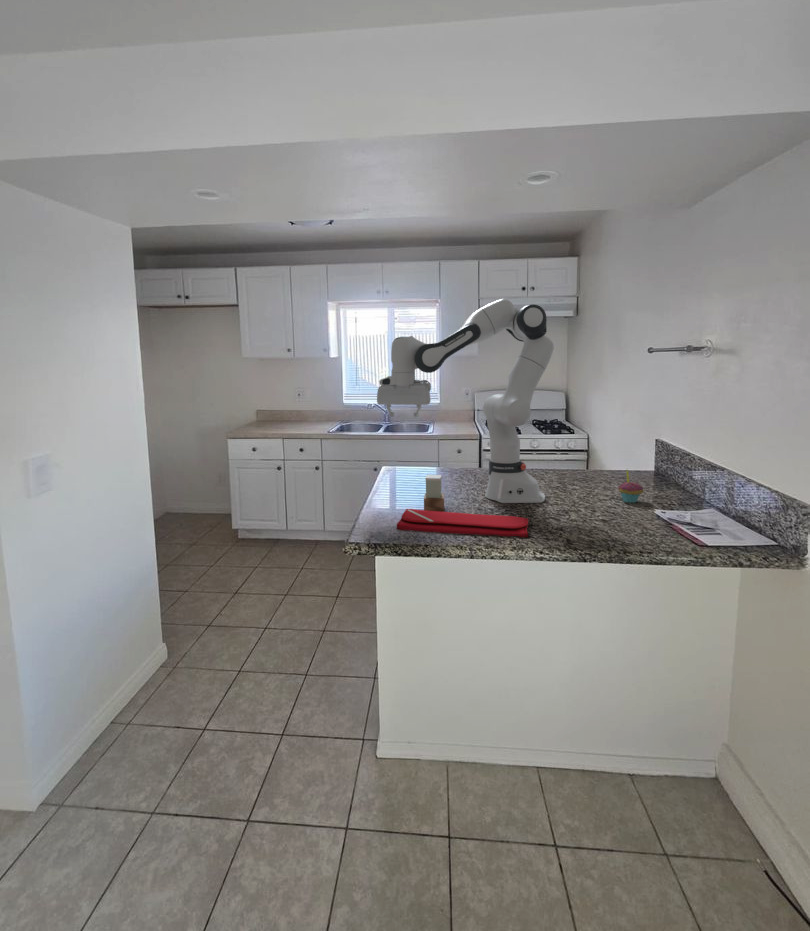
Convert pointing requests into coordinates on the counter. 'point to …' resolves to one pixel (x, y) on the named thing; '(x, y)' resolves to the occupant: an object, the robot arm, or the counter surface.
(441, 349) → the robot arm
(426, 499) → the walnut block
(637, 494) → the cupcake
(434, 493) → the sage tin
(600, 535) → the counter surface
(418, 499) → the counter surface
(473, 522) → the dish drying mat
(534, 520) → the counter surface
